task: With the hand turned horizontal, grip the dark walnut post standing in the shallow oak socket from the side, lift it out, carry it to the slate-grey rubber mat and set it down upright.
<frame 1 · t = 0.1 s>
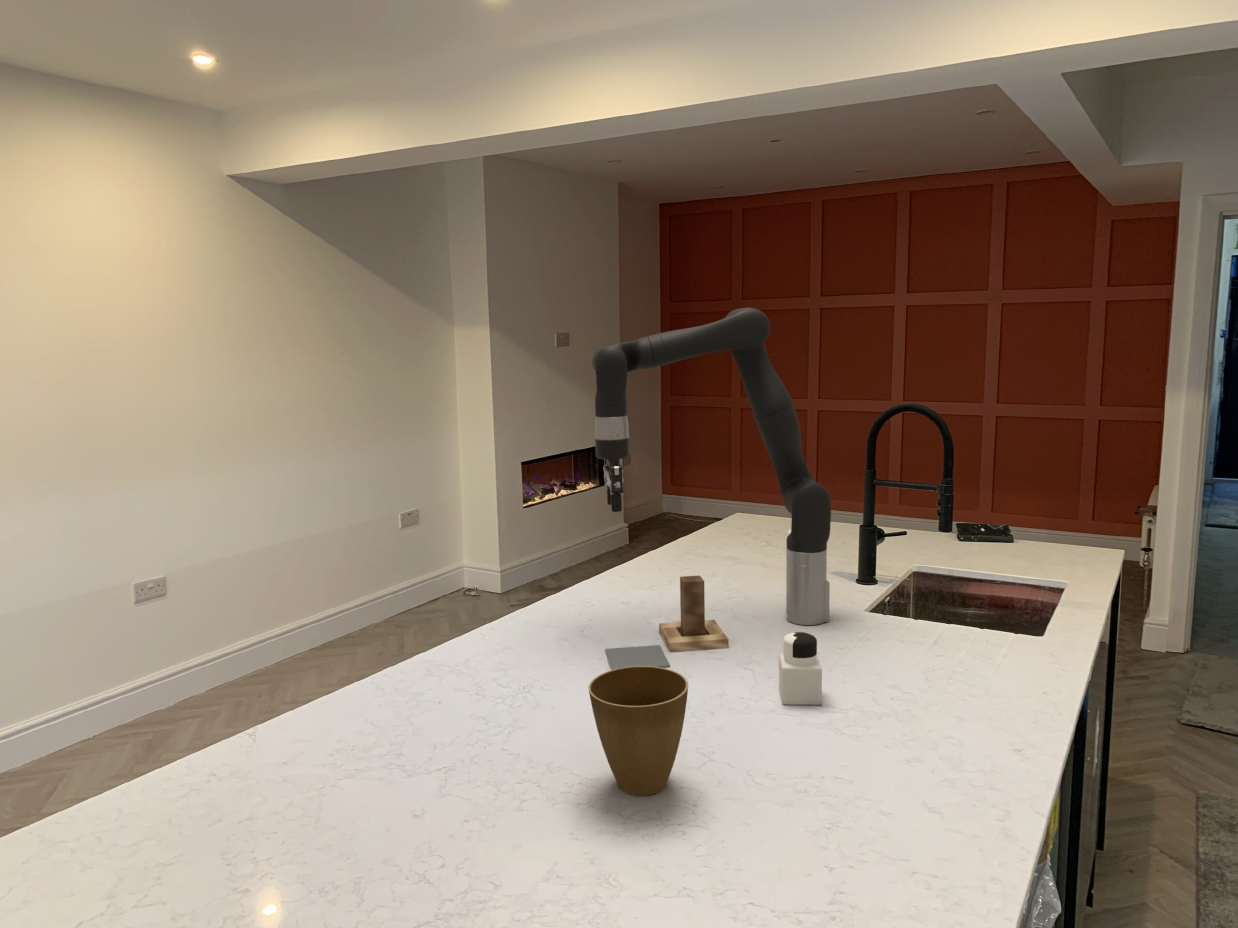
hand: (614, 507, 194), 29 cm above the worktop, tool pointing down, fingers open, 8 cm apart
plant pot: (640, 785, 131), on the worktop
oak socket: (692, 639, 193), on the worktop
grey mat: (636, 658, 182), on the worktop
medicine bottle: (799, 698, 161), on the worktop
walnut post: (692, 609, 192), in the oak socket
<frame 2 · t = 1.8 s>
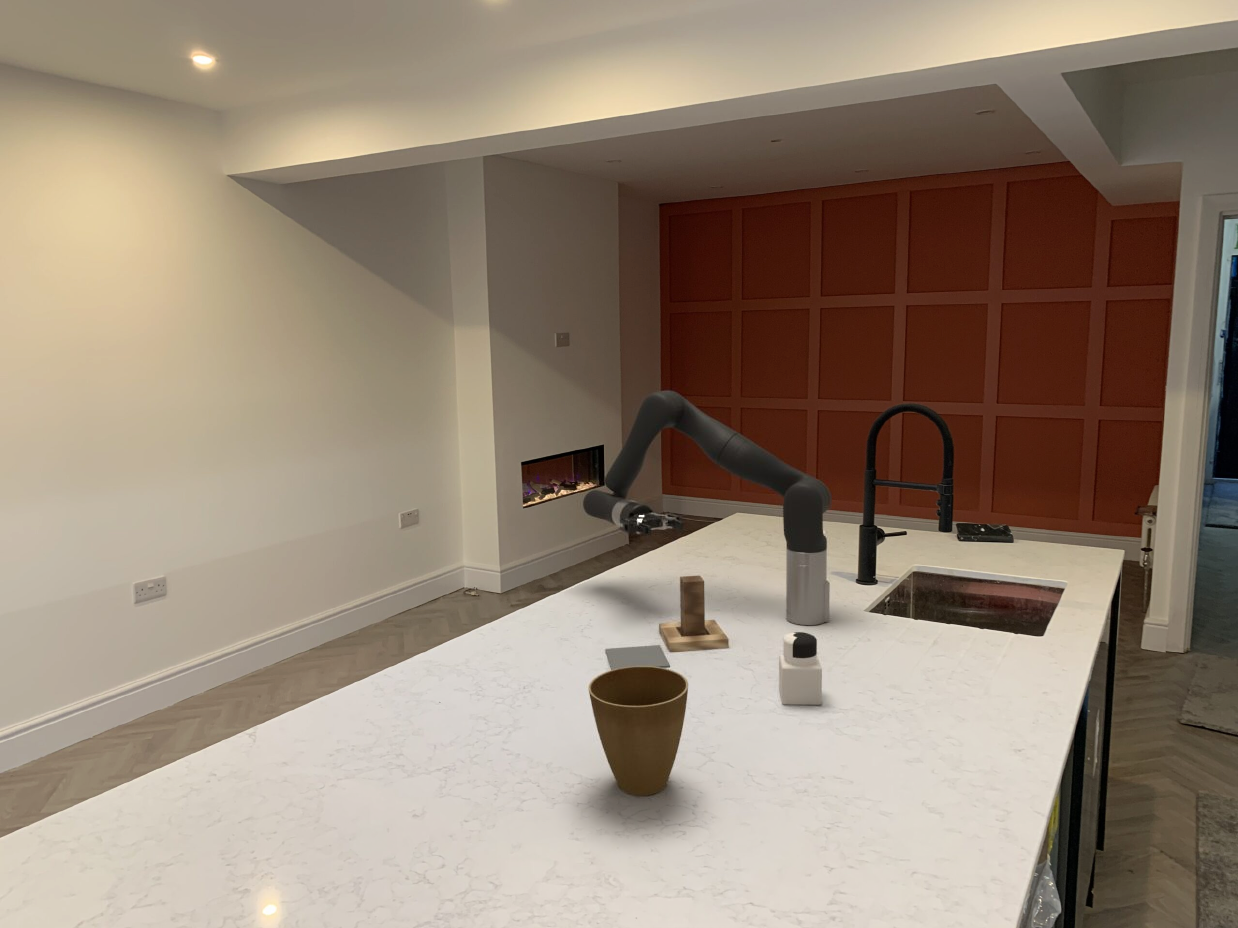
hand: (665, 528, 199), 23 cm above the worktop, tool horizontal, fingers open, 8 cm apart
nothing on the worktop moved.
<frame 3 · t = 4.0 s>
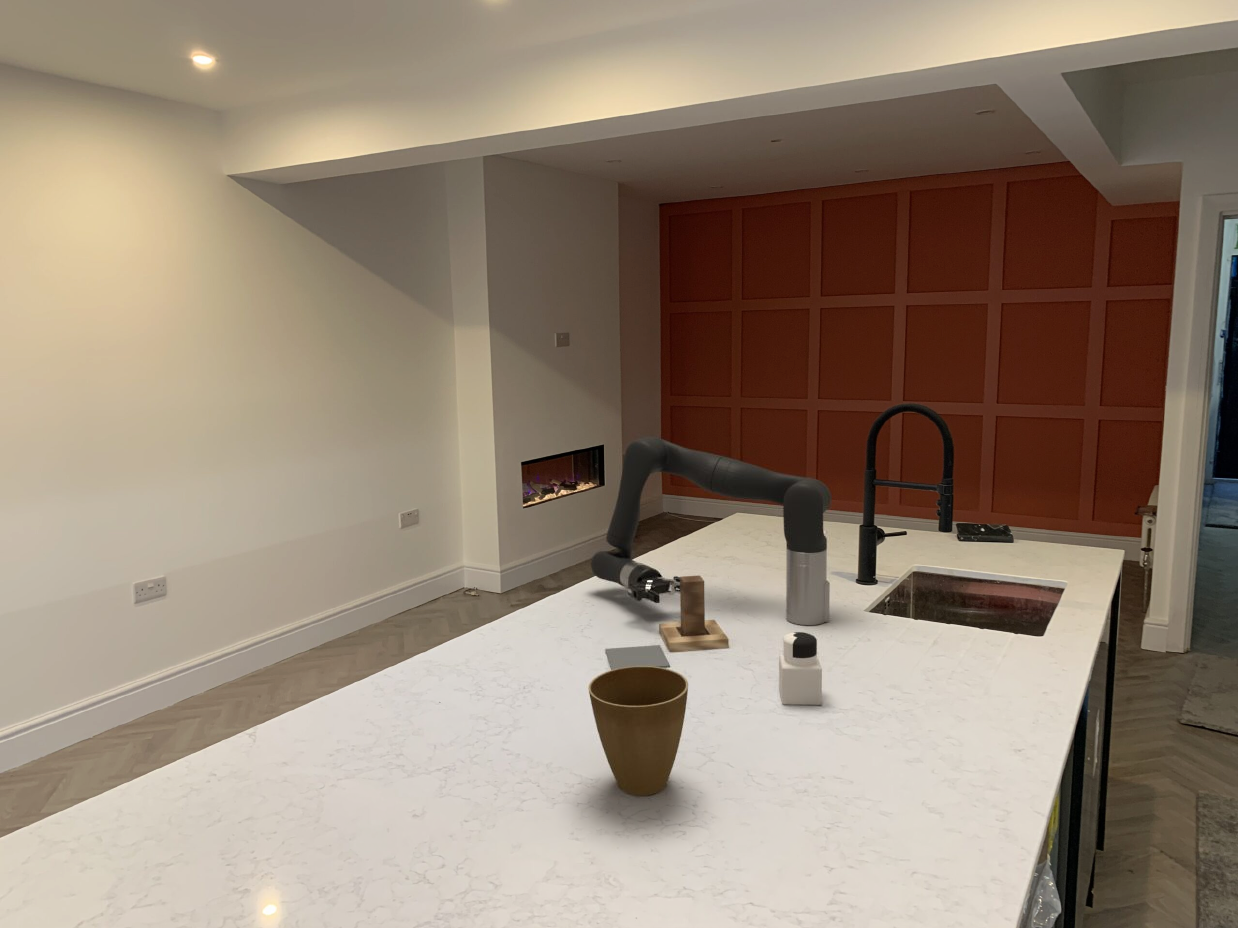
hand: (674, 595, 199), 8 cm above the worktop, tool horizontal, fingers open, 8 cm apart
nothing on the worktop moved.
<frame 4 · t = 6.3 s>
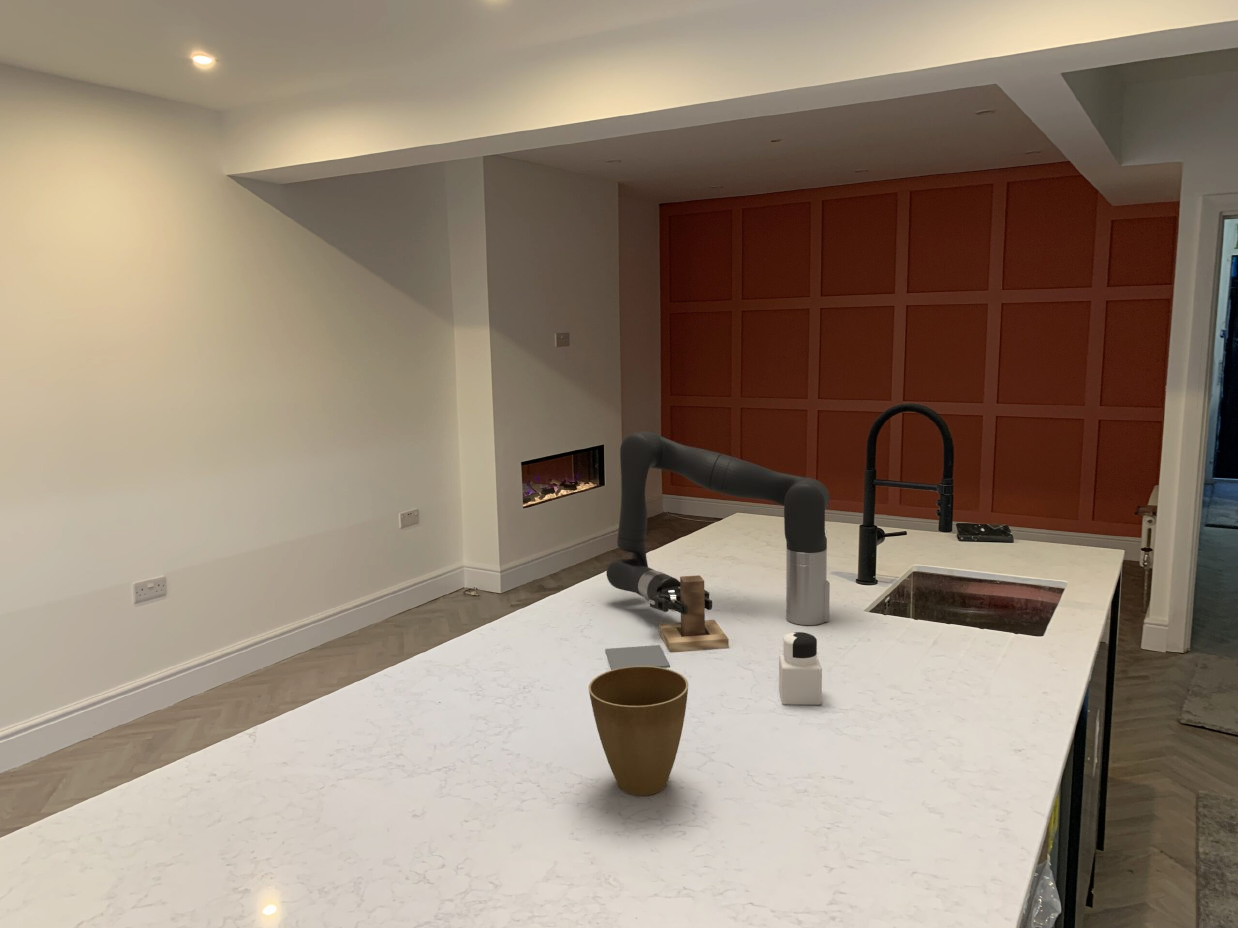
hand: (698, 607, 190), 8 cm above the worktop, tool horizontal, fingers closed on walnut post, 5 cm apart
walnut post: (692, 609, 192), in the oak socket, touching gripper
everything else where it was.
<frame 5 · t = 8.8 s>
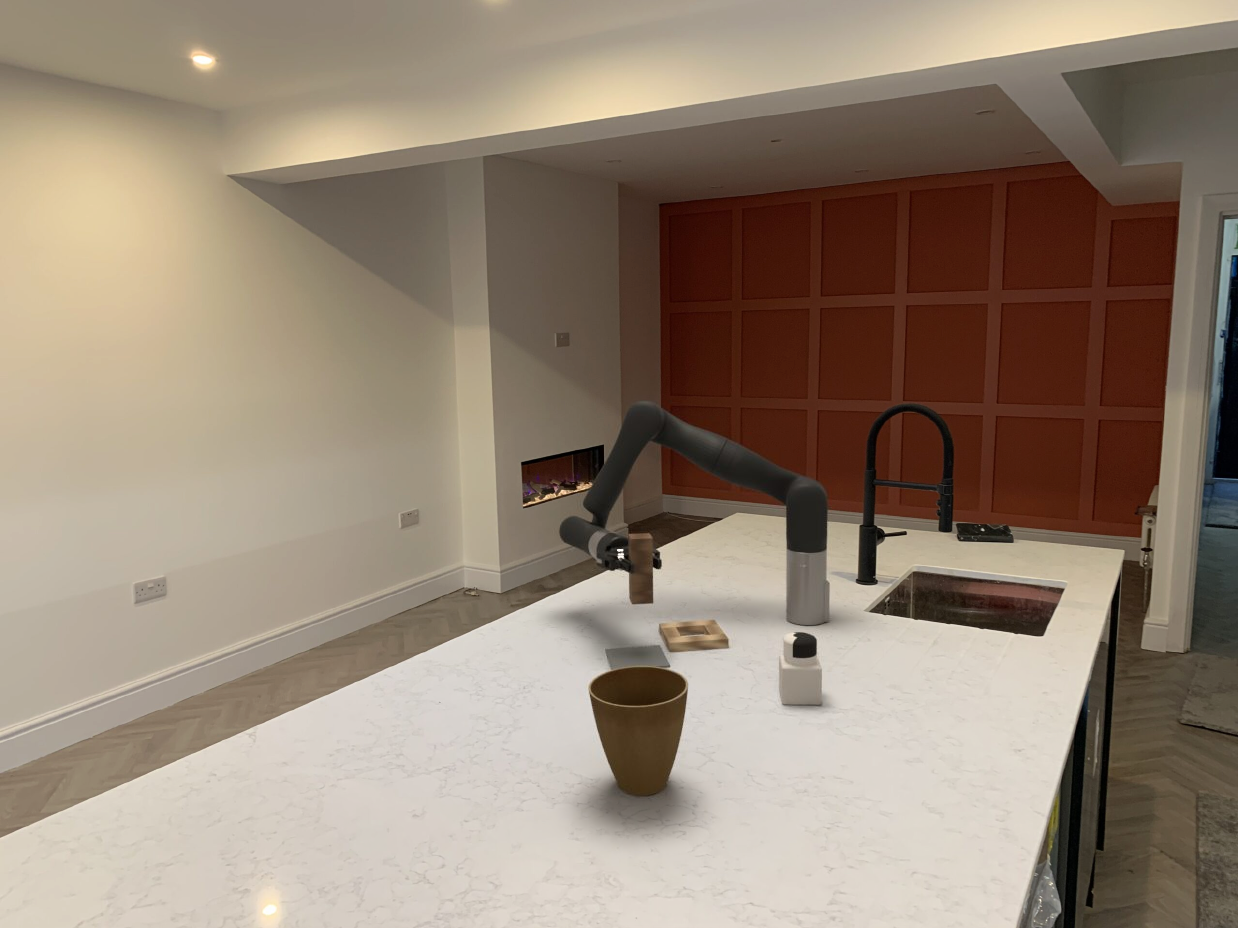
hand: (646, 566, 179), 20 cm above the worktop, tool horizontal, fingers closed on walnut post, 5 cm apart
walnut post: (640, 568, 182), point 19 cm above the worktop, touching gripper
everything else where it was.
when the fingers open (10 cm above the worktop, at t = 11.5 s): walnut post drops 1 cm, resting on grey mat.
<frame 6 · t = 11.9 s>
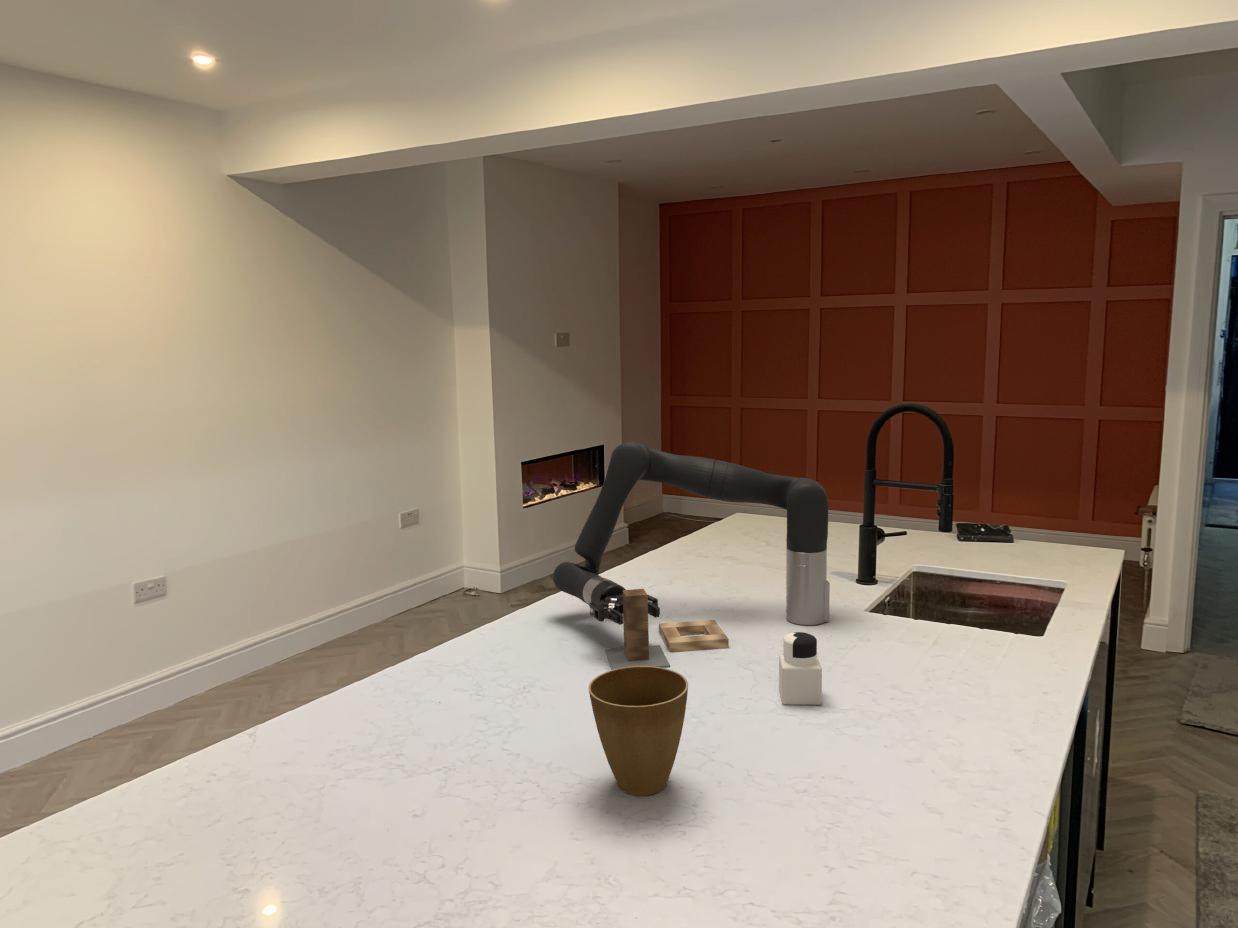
hand: (640, 616, 179), 10 cm above the worktop, tool horizontal, fingers open, 8 cm apart
walnut post: (635, 624, 181), on the grey mat
everything else where it was.
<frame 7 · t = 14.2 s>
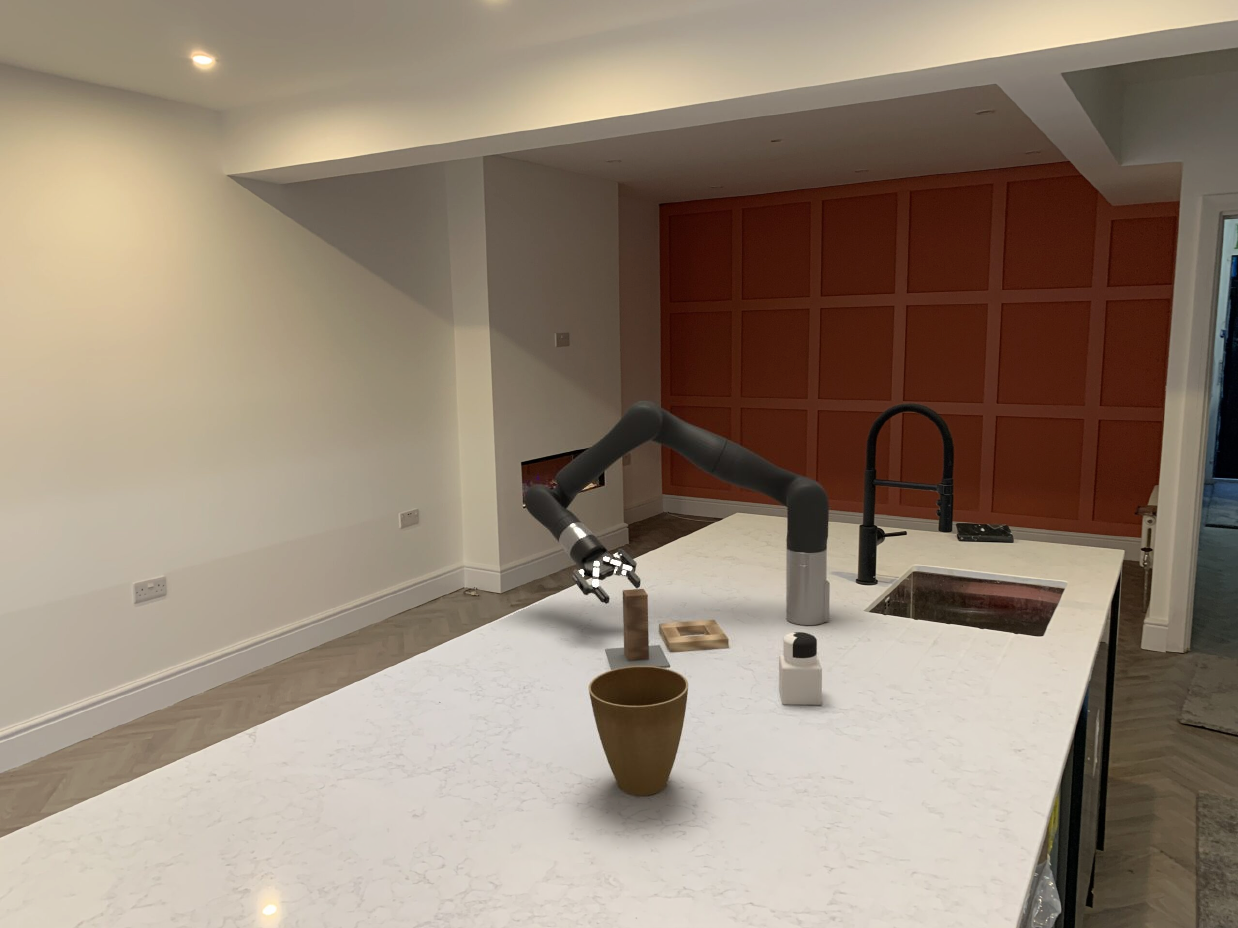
hand: (623, 593, 191), 11 cm above the worktop, tool tilted 60°, fingers open, 8 cm apart
nothing on the worktop moved.
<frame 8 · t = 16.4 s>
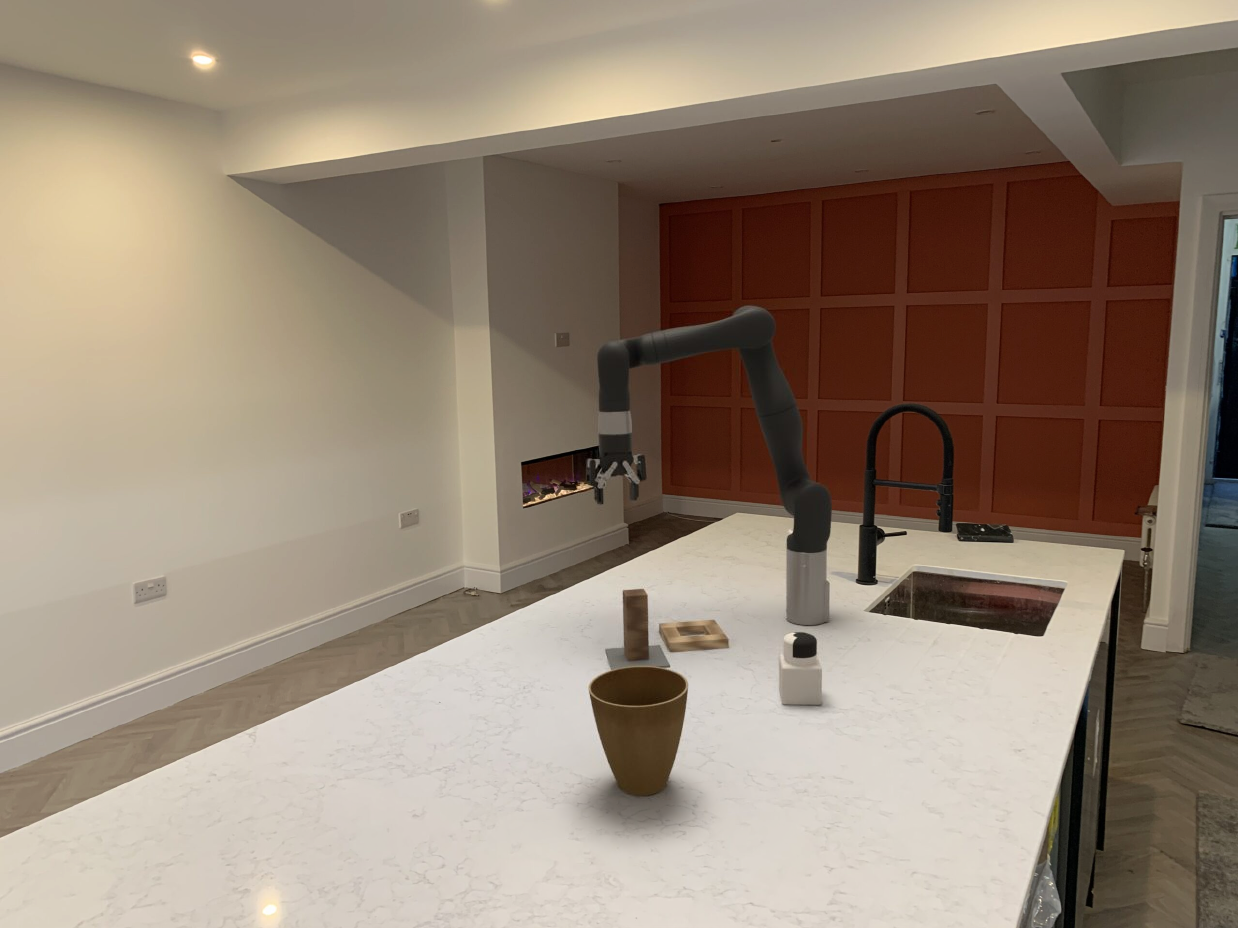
hand: (617, 501, 196), 30 cm above the worktop, tool pointing down, fingers open, 8 cm apart
nothing on the worktop moved.
at the end: walnut post inside the target area on the grey mat (0.1 cm from its centre), point 7.4 cm above the grey mat's base; walnut post tilted 0°; the gripper is holding nothing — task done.
